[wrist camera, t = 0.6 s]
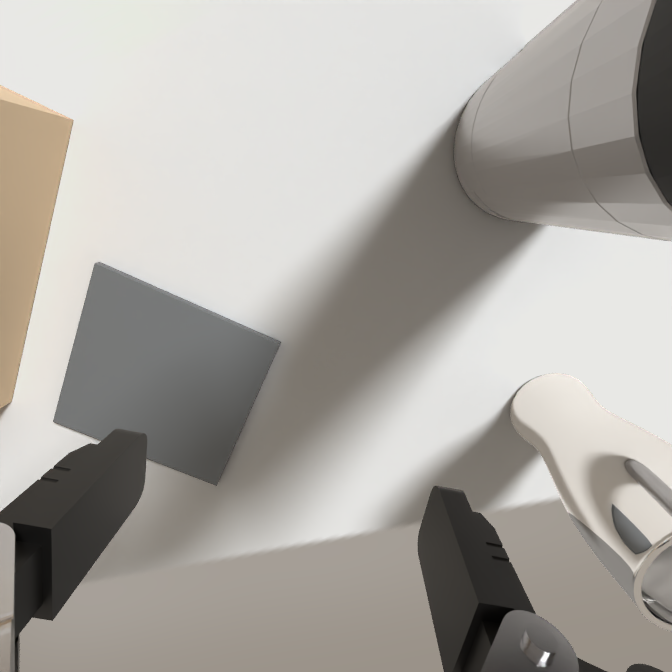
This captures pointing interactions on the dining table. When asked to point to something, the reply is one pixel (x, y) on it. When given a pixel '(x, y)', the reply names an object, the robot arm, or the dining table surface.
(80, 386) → the mat
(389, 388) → the dining table surface
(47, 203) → the carton
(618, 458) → the beer glass
